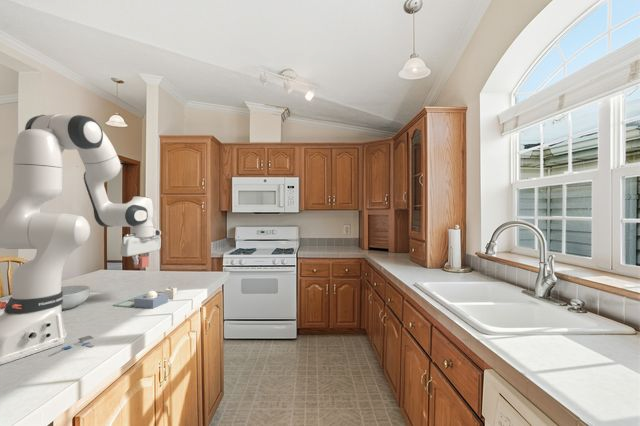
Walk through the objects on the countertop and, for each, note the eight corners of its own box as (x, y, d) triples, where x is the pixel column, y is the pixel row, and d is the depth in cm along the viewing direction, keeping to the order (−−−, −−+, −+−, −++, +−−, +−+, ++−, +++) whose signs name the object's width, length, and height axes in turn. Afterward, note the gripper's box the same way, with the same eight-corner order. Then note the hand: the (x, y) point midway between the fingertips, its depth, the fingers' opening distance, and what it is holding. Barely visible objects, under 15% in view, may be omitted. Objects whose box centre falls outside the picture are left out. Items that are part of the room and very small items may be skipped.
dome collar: (153, 308, 126) (153, 300, 126) (133, 306, 127) (134, 298, 127) (167, 302, 135) (167, 294, 135) (149, 300, 136) (149, 292, 136)
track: (130, 307, 127) (130, 306, 127) (112, 305, 128) (112, 304, 128) (168, 293, 149) (168, 292, 149) (152, 291, 151) (152, 291, 151)
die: (173, 298, 140) (173, 288, 140) (164, 298, 139) (164, 288, 139) (176, 296, 144) (176, 286, 144) (167, 296, 143) (168, 286, 143)
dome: (152, 304, 128) (152, 292, 128) (143, 304, 129) (143, 291, 129) (159, 301, 133) (159, 289, 133) (150, 301, 134) (150, 289, 134)
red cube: (141, 268, 135) (142, 257, 135) (134, 267, 136) (134, 257, 136) (148, 266, 139) (148, 256, 139) (140, 265, 140) (141, 255, 140)
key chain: (83, 337, 98) (83, 334, 98) (110, 336, 98) (110, 334, 98) (47, 357, 84) (47, 354, 84) (79, 357, 84) (79, 354, 84)
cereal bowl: (44, 304, 129) (44, 287, 129) (93, 299, 136) (93, 283, 136) (29, 316, 114) (29, 297, 114) (84, 311, 121) (85, 293, 121)
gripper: (129, 235, 127) (129, 268, 127) (163, 231, 147) (163, 259, 147) (116, 234, 128) (116, 267, 128) (152, 230, 148) (151, 259, 148)
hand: (141, 263), depth 138 cm, fingers closed on red cube, 4 cm apart
